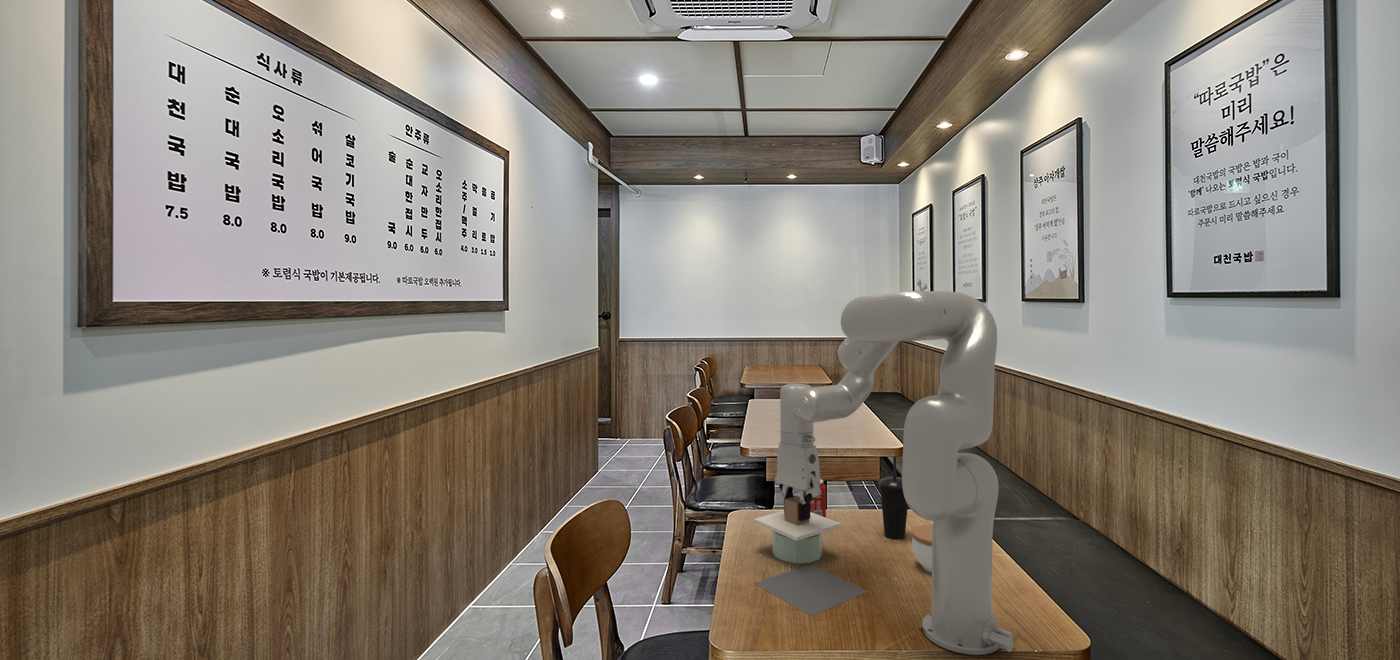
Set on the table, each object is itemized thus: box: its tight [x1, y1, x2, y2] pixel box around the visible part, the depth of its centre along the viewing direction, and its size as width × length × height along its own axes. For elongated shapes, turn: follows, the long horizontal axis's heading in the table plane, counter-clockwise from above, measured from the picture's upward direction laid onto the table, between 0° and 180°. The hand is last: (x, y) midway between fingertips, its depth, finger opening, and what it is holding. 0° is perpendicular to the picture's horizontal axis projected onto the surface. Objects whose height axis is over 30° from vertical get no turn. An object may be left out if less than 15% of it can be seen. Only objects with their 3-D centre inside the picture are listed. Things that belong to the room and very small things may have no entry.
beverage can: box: [805, 478, 827, 518], centre depth 155 cm, size 6×6×12 cm
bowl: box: [771, 530, 823, 564], centre depth 136 cm, size 11×11×6 cm
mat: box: [754, 563, 869, 617], centre depth 119 cm, size 16×16×1 cm
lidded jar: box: [911, 524, 933, 574], centre depth 129 cm, size 11×11×9 cm
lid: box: [753, 495, 842, 541], centre depth 136 cm, size 14×14×6 cm
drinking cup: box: [878, 456, 909, 541], centre depth 147 cm, size 8×8×20 cm
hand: (797, 516), depth 136 cm, fingers closed on lid, 4 cm apart
